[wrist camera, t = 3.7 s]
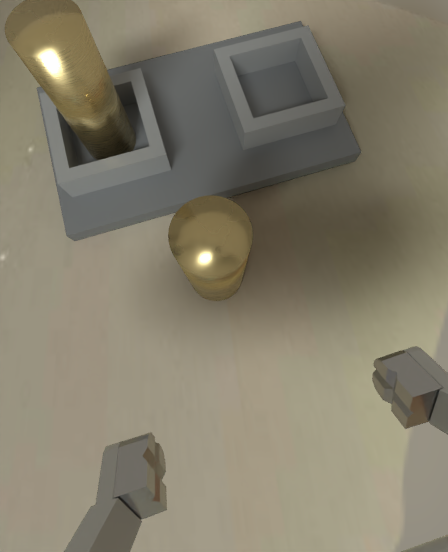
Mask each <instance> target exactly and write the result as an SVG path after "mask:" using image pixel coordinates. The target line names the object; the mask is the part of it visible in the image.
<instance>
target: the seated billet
mask: <svg viewBox="0 0 448 552" xmlns="http://www.w3.org/2000/svg"><path fill="white" fill-rule="evenodd" d="M5 35H6V38H7V40H8V42H9V43H10V45H11V46H12V47H13V49H14V50H15V51H16V53H17V54H18V56H19V57H20V58H21V60H22V61H23V62H24V64H25V65H26V67H27V68H28V69H29V71H30V72H31V73H32V75H33V76H34V77H35V79H36V80H37V82H38V83H39V84H40V86H41V87H42V88H43V90H44V91H45V93H46V94H47V95H48V97H49V98H50V99H51V101H52V102H53V103H54V105H55V106H56V108H57V109H58V110H59V112H60V113H61V114H62V116H63V117H64V119H65V120H66V121H67V123H68V124H69V125H70V127H71V128H72V129H73V131H74V132H75V134H76V135H77V136H78V138H79V139H80V140H81V142H82V143H83V145H84V146H85V147H86V149H87V150H88V151H89V153H90V154H91V155H92V156H93V157H94V158H95V159H97V160H101V159H105V158H109V157H113V156H116V155H120V154H124V153H127V152H131V151H133V149H134V147H135V144H136V136H135V132H134V130H133V128H132V126H131V123H130V121H129V119H128V116H127V114H126V112H125V110H124V107H123V105H122V103H121V101H120V98H119V96H118V94H117V92H116V89H115V87H114V85H113V82H112V80H111V78H110V76H109V73H108V71H107V69H106V67H105V64H104V62H103V60H102V58H101V55H100V53H99V51H98V49H97V46H96V44H95V42H94V39H93V37H92V35H91V33H90V30H89V28H88V26H87V24H86V21H85V19H84V17H83V15H82V12H81V10H80V9H79V7H78V6H77V5H76V4H75V3H74V2H73V1H72V0H25V1H23V2H22V3H20V4H19V5H18V6H17V7H15V8H14V10H13V11H12V12H11V13H10V15H9V16H8V18H7V21H6V24H5Z"/></svg>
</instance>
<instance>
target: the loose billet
mask: <svg viewBox="0 0 448 552" xmlns="http://www.w3.org/2000/svg"><path fill="white" fill-rule="evenodd" d="M168 238H169V245H170V248H171V251H172V253H173V255H174V257H175V258H176V260H177V262H178V263H179V265H180V266H181V268H182V270H183V271H184V273H185V275H186V276H187V278H188V279H189V281H190V283H191V284H192V286H193V287H194V289H195V290H196V292H197V293H198V294H199V295H200V296H202V297H203V298H205V299H208V300H212V301H221V300H225V299H227V298H229V297H231V296H232V295H234V294H235V293H236V291H237V290H238V289H239V287H240V285H241V282H242V278H243V274H244V271H245V267H246V263H247V260H248V256H249V252H250V249H251V245H252V240H253V230H252V225H251V222H250V219H249V217H248V216H247V214H246V212H245V211H244V210H243V209H242V208H241V207H240V206H239V205H238V204H236V203H235V202H233V201H232V200H230V199H227V198H224V197H221V196H212V195H209V196H202V197H198V198H195V199H193V200H191V201H189V202H187V203H186V204H184V205H183V206H182V207H181V208H180V209H179V210H178V211H177V212H176V214H175V215H174V217H173V219H172V221H171V224H170V227H169V234H168Z"/></svg>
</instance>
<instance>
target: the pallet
mask: <svg viewBox="0 0 448 552" xmlns="http://www.w3.org/2000/svg"><path fill="white" fill-rule="evenodd" d="M107 71H108V73H109V76H110V78H111V80H112V82H113V85H114V87H115V89H116V92H117V94H118V96H119V98H120V101H121V103H122V105H123V107H124V110H125V112H126V114H127V116H128V119H129V121H130V123H131V126H132V128H133V130H134V132H135V136H136V144H135V147H134V149H133V151H131V152H127V153H124V154H120V155H116V156H113V157H109V158H105V159H101V160H97V159H95V158H94V157H93V156H92V155H91V154H90V153H89V151H88V150H87V149H86V147H85V146H84V145H83V143H82V142H81V140H80V139H79V138H78V136H77V135H76V134H75V132H74V131H73V129H72V128H71V127H70V125H69V124H68V123H67V121H66V120H65V119H64V117H63V116H62V114H61V113H60V112H59V110H58V109H57V108H56V106H55V105H54V103H53V102H52V101H51V99H50V98H49V97H48V95H47V94H46V93H45V91H44V90H43V88H42V87H38V88H37V91H38V96H39V101H40V106H41V111H42V116H43V121H44V126H45V131H46V136H47V141H48V146H49V151H50V156H51V161H52V166H53V171H54V176H55V181H56V186H57V191H58V195H59V200H60V205H61V210H62V215H63V220H64V225H65V230H66V235H67V236H68V237H69V238H71V239H72V240H74V241H77V240H80V239H84V238H87V237H91V236H94V235H98V234H101V233H105V232H108V231H112V230H115V229H119V228H122V227H126V226H129V225H133V224H136V223H140V222H143V221H147V220H150V219H154V218H157V217H161V216H164V215H168V214H171V213H175V212H177V211H178V210H179V209H180V208H181V207H182V206H183V205H184V204H186V203H187V202H189V201H191V200H193V199H195V198H198V197H202V196H209V195H212V196H221V197H224V198H227V197H231V196H234V195H238V194H241V193H245V192H248V191H252V190H255V189H259V188H263V187H266V186H270V185H273V184H277V183H280V182H284V181H287V180H291V179H294V178H298V177H301V176H305V175H308V174H312V173H315V172H319V171H322V170H326V169H329V168H333V167H336V166H340V165H343V164H347V163H350V162H354V161H355V160H356V159H357V158H358V156H359V155H360V153H361V150H360V148H359V146H358V144H357V142H356V140H355V137H354V135H353V133H352V131H351V129H350V127H349V124H348V122H347V120H346V118H345V116H344V114H343V110H344V108H345V106H346V105H345V103H344V101H343V99H342V97H341V95H340V92H339V90H338V88H337V86H336V84H335V82H334V80H333V77H332V75H331V73H330V71H329V69H328V67H327V65H326V62H325V60H324V58H323V56H322V54H321V52H320V50H319V47H318V45H317V43H316V41H315V39H314V37H313V35H312V32H311V30H310V28H309V26H304V27H303V25H302V23H301V21H299V22H295V23H291V24H287V25H283V26H279V27H275V28H271V29H267V30H263V31H259V32H255V33H251V34H247V35H243V36H239V37H235V38H231V39H227V40H224V41H220V42H216V43H212V44H208V45H204V46H200V47H196V48H192V49H188V50H184V51H180V52H176V53H172V54H168V55H164V56H160V57H156V58H152V59H148V60H144V61H140V62H137V63H133V64H129V65H125V66H121V67H117V68H113V69H109V70H107Z"/></svg>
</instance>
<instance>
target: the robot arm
mask: <svg viewBox="0 0 448 552" xmlns="http://www.w3.org/2000/svg"><path fill="white" fill-rule="evenodd" d="M374 367H375V368H376V370H375V372H374V373H373V377H372V380H373V383H374V387H375V389H376V390H377V392H378V394H379V395H380V397H381V398H382V399H383V400H384V401H386V402H388V403H390V404H391V411H392V412H393V414H394V415H395V416H396V418H397V419H398V420H399V421H400V423H401V424H402V425H403V427H404V428H405V429H407V428H410V427H413V426H416V425H420V424H423V423H426V422H429V421H430V422H429V423H430V424H431V425H433V426H435V427H436V428H438V429H439V430H441V431H443V432H444V433H446V434H448V373H447V372H446V371H445V370H444V369H442V367H441V366H440V365H438V364H437V363H436V362H435V361H434V360H433V359H432V358H431V357H430V356H429V355H428V354H427V353H425V352H424V351H423V350H422V349H421V348H419V347H417V346H414V347H411V348H408V349H405V350H402V351H398V352H395V353H392V354H389V355H386V356H383V357H380V358H378V359H376V360H375V361H374ZM165 473H166V466H165V458H164V453H163V450H162V447H161V446H160V444H159V443H155V437H154V435H153V434H152V433H151V432H150V433H147V434H144V435H141V436H138V437H135V438H132V439H129V440H125V441H121V442H118V443H115V444H112V445H109V446H106V448H105V450H104V452H103V458H102V465H101V471H100V478H99V485H98V492H97V498H96V505H93V506H91V507H90V509H89V511H88V512H87V514H86V516H85V517H84V519H83V521H82V522H81V524H80V526H79V527H78V529H77V531H76V532H75V534H74V536H73V537H72V539H71V541H70V543H69V544H68V546H67V548H66V549H65V551H64V552H130V550H131V548H132V545H133V543H134V540H135V538H136V535H137V533H138V530H139V527H140V525H141V522H142V521H141V520H142V519H144V518H147V517H150V516H152V515H155V514H158V513H160V512H163V511H166V510H167V497H166V486H165V484H164V483H163V482H162V479H163V477H164V475H165ZM402 552H448V535H445V536H443V537H440V538H437V539H434V540H432V541H429V542H426V543H424V544H421V545H418V546H415V547H413V548H410V549H407V550H404V551H402Z"/></svg>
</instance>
